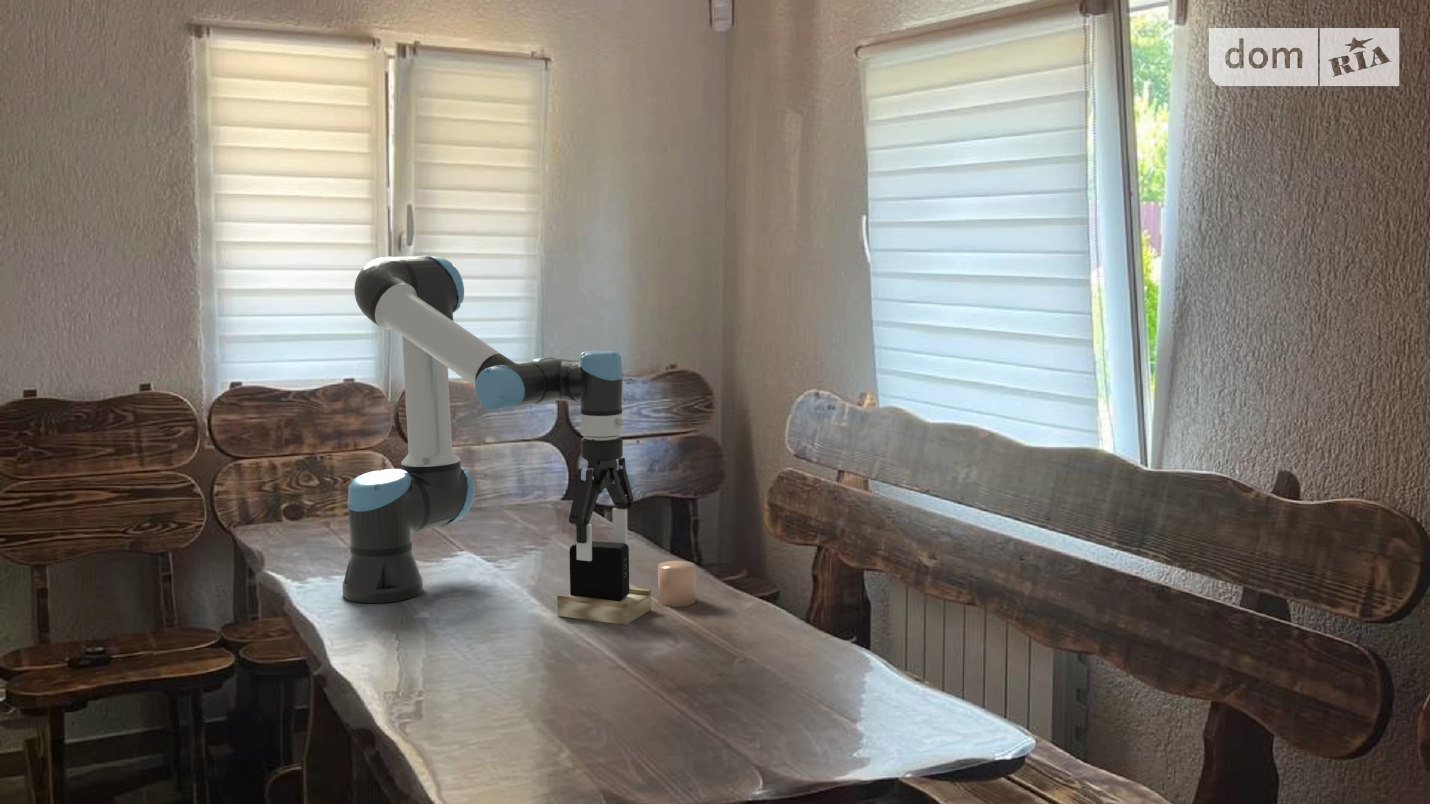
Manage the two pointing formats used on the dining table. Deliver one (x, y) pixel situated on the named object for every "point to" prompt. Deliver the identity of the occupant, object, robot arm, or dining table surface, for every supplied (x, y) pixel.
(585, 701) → the dining table surface
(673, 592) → the peach rounded cylinder
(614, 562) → the electronic device
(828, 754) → the dining table surface
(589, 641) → the dining table surface
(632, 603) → the stand
